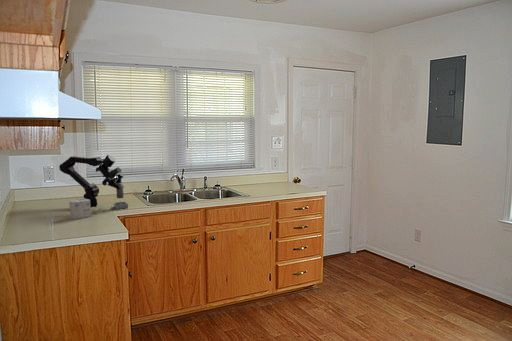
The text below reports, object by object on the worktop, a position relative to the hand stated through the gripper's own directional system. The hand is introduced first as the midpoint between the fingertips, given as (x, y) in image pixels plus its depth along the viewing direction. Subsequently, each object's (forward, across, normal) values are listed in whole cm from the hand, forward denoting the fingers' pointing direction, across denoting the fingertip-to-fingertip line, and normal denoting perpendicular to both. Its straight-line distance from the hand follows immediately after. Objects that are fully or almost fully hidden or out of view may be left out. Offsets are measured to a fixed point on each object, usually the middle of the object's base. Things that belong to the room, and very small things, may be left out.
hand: (121, 188), depth 276 cm
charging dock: (+9, 0, +10) cm, 14 cm away
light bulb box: (+2, -28, +18) cm, 34 cm away
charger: (+4, 0, +6) cm, 7 cm away
